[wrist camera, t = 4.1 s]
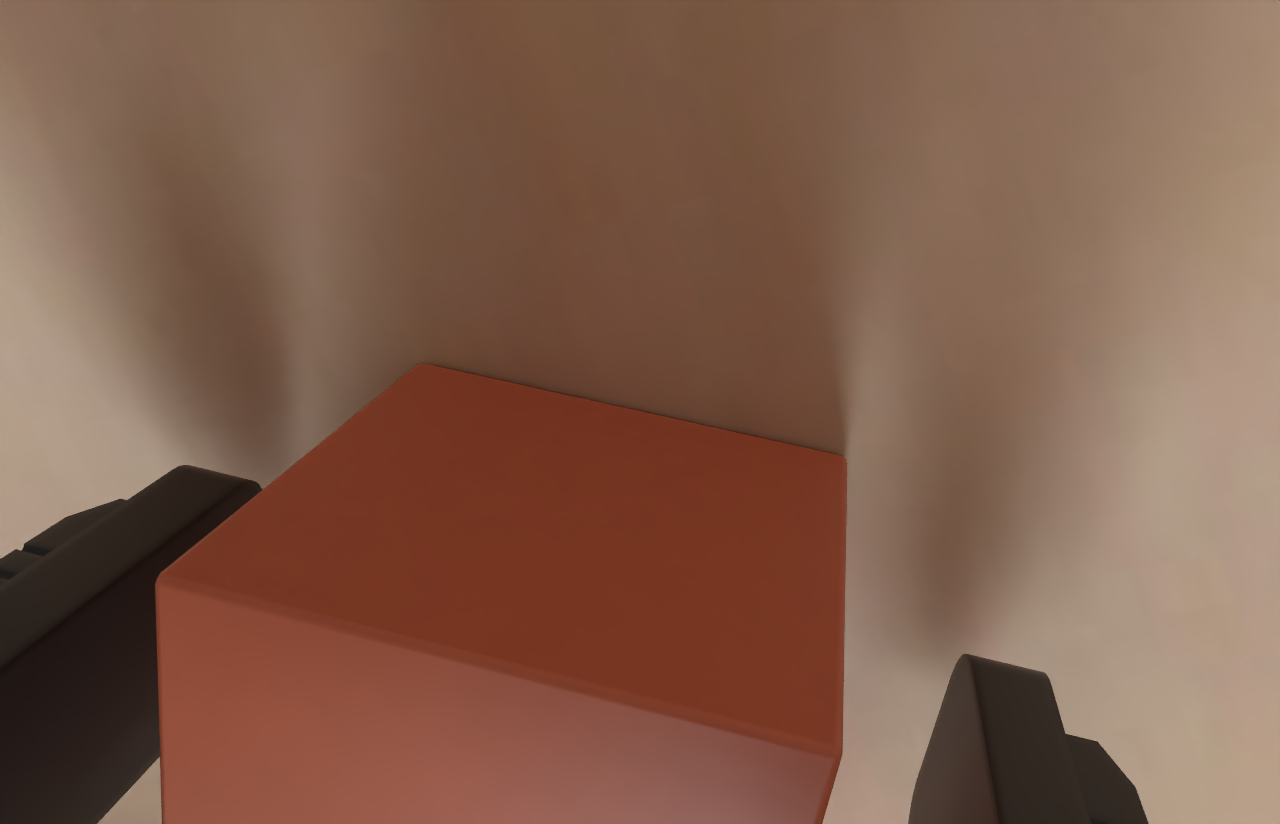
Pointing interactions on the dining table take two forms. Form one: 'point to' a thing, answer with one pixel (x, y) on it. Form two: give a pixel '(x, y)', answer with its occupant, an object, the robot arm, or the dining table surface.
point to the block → (512, 623)
